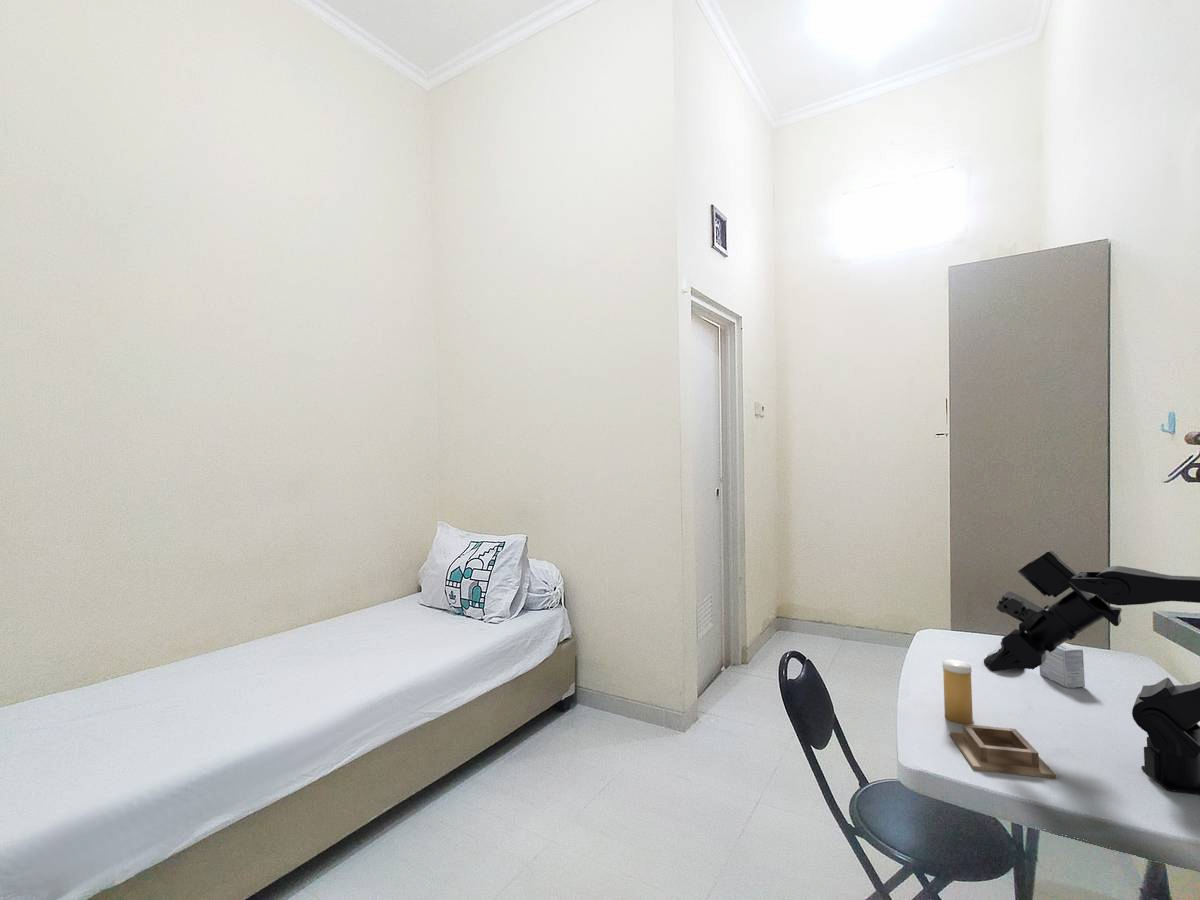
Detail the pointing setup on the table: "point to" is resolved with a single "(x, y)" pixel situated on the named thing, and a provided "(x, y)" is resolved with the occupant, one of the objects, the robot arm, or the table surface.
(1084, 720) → the table surface
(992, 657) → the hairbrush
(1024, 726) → the table surface
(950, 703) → the pill bottle
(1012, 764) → the bottle holder
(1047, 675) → the medicine box
